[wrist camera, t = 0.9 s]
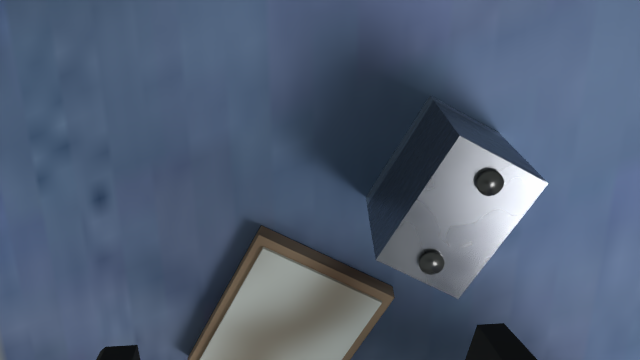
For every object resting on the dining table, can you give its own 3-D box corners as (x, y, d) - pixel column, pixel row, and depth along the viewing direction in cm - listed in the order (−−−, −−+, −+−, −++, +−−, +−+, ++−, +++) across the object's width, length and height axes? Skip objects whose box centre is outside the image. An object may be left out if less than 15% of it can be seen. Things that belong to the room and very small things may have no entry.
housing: (499, 133, 25) (550, 185, 19) (431, 229, 27) (459, 301, 22) (429, 94, 24) (460, 137, 19) (365, 196, 26) (376, 262, 21)
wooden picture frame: (392, 286, 29) (395, 299, 27) (308, 405, 32) (307, 421, 31) (261, 225, 27) (258, 237, 26) (188, 356, 31) (183, 371, 30)
